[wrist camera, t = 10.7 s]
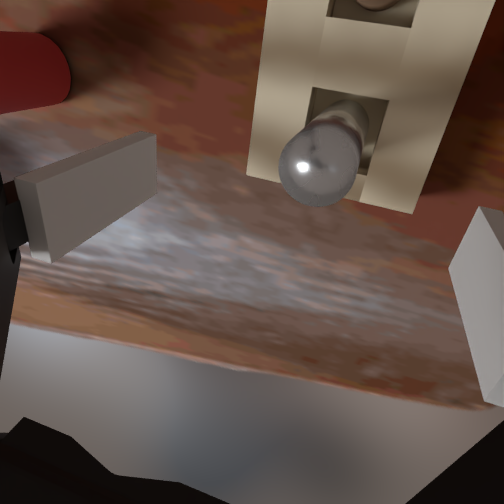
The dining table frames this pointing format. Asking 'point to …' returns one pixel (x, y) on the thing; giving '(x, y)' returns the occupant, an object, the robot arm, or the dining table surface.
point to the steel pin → (325, 155)
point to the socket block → (366, 83)
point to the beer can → (31, 72)
